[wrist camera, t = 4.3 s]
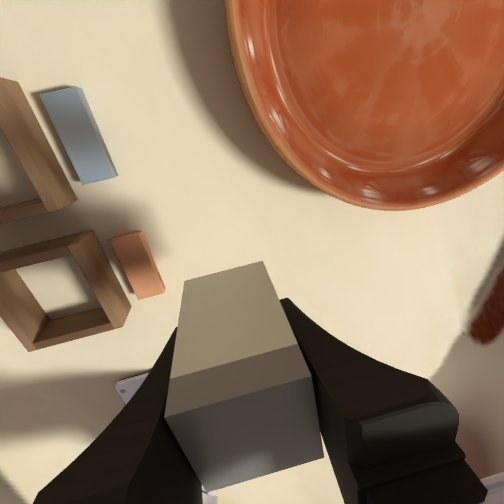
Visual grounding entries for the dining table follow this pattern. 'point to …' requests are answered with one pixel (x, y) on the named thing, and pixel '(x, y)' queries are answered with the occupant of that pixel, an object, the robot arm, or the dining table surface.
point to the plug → (239, 381)
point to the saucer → (377, 93)
